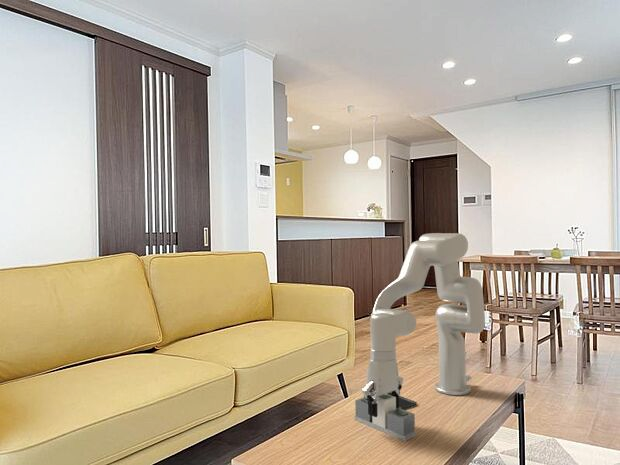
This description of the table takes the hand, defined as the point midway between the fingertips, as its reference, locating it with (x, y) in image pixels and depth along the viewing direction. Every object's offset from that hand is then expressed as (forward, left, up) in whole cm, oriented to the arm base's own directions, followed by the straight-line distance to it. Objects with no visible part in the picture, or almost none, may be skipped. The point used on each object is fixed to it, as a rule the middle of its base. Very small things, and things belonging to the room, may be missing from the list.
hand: (383, 411), depth 140 cm
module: (0, 0, -4) cm, 4 cm away
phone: (-19, -12, -5) cm, 23 cm away
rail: (0, 0, -5) cm, 5 cm away
